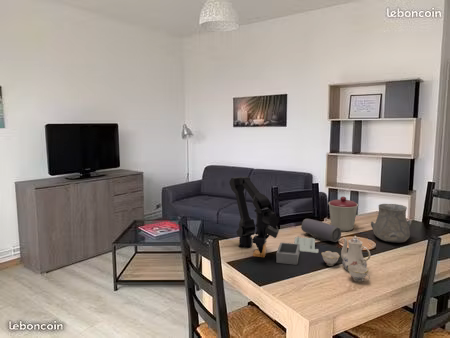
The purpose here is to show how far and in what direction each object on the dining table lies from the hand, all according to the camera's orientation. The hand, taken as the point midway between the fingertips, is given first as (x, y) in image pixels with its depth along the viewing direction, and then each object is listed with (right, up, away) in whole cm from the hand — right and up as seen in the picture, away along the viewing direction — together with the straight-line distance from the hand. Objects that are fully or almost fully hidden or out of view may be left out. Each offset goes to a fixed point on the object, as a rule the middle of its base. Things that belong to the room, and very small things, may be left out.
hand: (261, 251), depth 175 cm
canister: (+56, +4, +41) cm, 70 cm away
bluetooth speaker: (+37, +1, +24) cm, 44 cm away
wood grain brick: (-1, -2, +1) cm, 3 cm away
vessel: (+77, +1, +20) cm, 79 cm away
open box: (+13, -3, -4) cm, 14 cm away
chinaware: (+38, -5, -19) cm, 43 cm away
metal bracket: (+24, -1, +10) cm, 27 cm away
